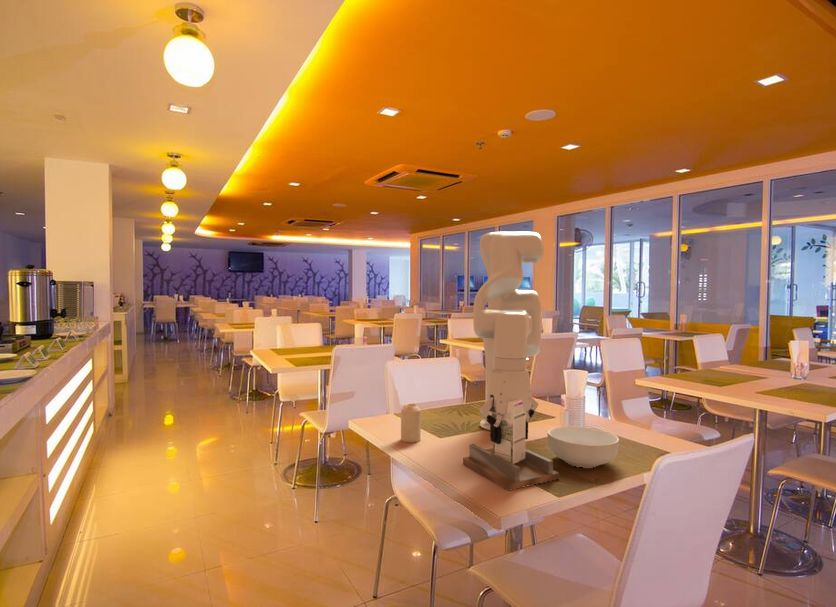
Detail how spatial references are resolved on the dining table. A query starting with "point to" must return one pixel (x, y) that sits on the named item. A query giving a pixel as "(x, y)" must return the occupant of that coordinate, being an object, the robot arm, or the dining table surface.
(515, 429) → the syrup box
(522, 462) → the track board
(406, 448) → the dining table surface
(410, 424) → the candle
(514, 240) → the robot arm
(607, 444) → the cereal bowl
